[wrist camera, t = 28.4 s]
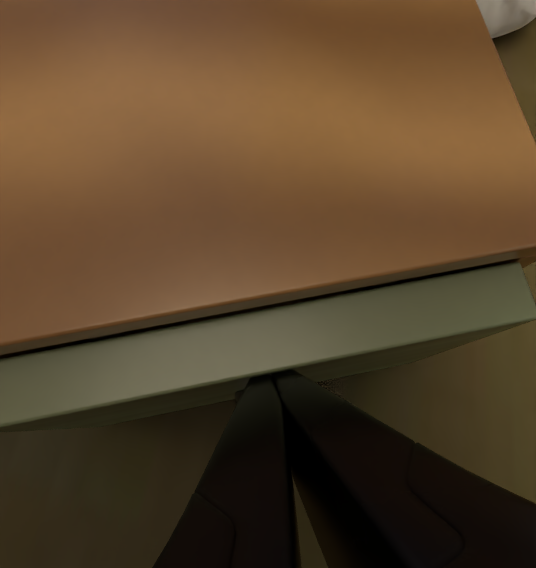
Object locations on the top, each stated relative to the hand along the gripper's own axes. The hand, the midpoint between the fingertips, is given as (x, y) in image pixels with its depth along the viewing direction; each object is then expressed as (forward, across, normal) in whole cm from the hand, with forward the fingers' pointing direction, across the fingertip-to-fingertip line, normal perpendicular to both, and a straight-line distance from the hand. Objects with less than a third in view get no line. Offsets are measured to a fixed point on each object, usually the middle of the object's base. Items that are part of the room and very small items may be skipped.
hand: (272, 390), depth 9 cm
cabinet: (+10, 0, 0) cm, 10 cm away
